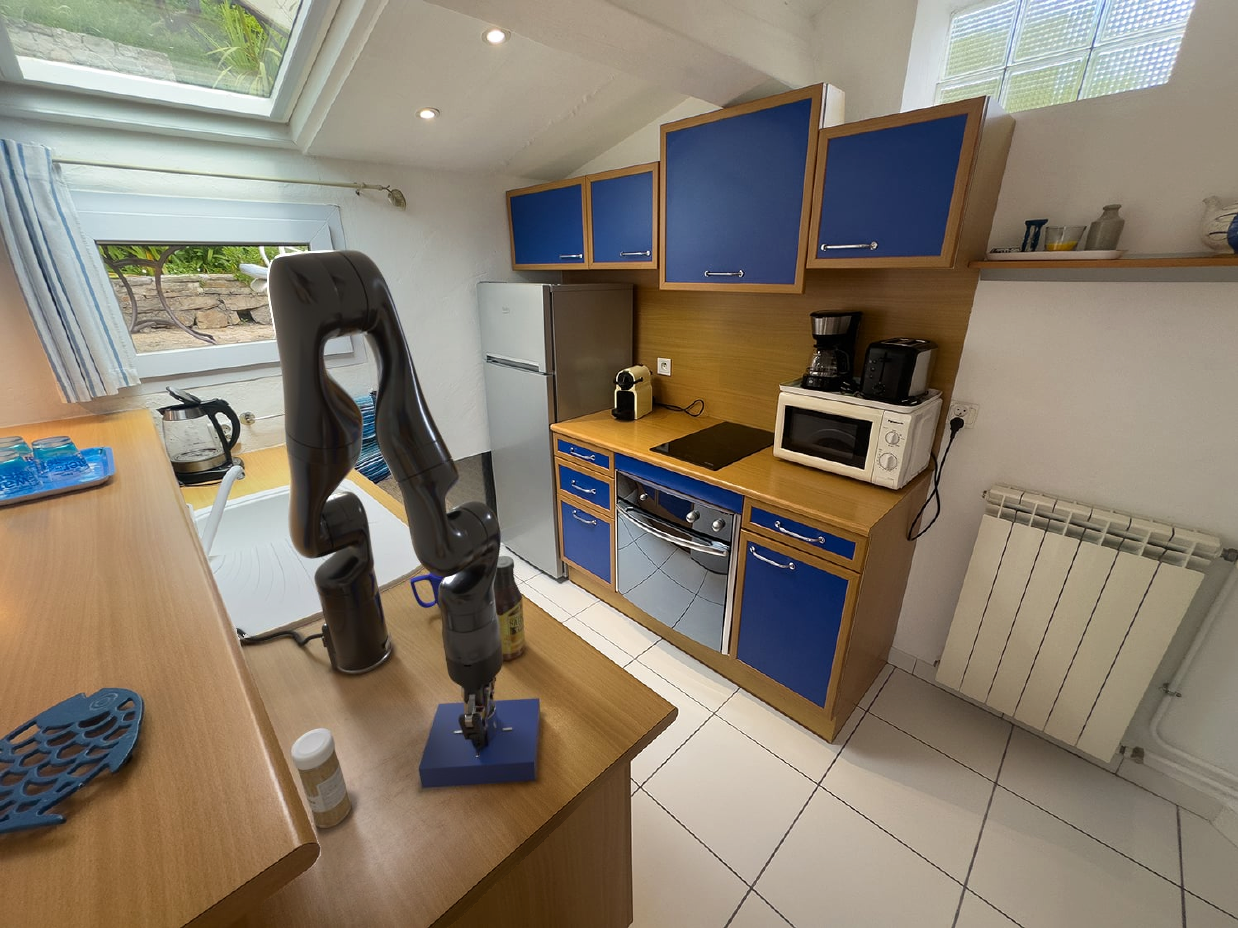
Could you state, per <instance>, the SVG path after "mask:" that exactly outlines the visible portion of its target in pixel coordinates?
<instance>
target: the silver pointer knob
mask: <svg viewBox="0 0 1238 928" xmlns="http://www.w3.org/2000/svg"><path fill="white" fill-rule="evenodd" d="M493 700H494V699H493ZM493 700H492V699H491V698H490V711H489V714H488V716H487V724H488V735H489V741H490V740H492V739H493V738H494V737H495V735H496V734H497V732H498V720H497V712H496V704H495V702H494V701H495V700H494V701H493ZM484 706H485V704H484V705H483V706H478V707H484ZM481 720H482V718H481ZM470 740H471V741H472V739H470Z"/></svg>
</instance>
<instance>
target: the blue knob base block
mask: <svg viewBox="0 0 1238 928" xmlns="http://www.w3.org/2000/svg"><path fill="white" fill-rule="evenodd" d="M494 702H495V704H496V712H497V720H498V732H497V734H496V735H495V737H494V738H493V739H492V740H490V741H489V745H488V746H487V747H482V748H475V747H474V746H473V742H472V741H471V740H470V739H469V740H465V738H464V735H463V732H462V730H461V727H460V724H459V716H460V714H464V703H463V702H443V703H438V705H437V707H436V711H435V714H434V717H433V721H432V723H431V727H430V730H429V734H428V736H427V740H426V743H425V746H424V749H423V753H422V756H421V759H420V763H419V766H418V774H419V780H420V785H421V789H431V788H432V789H433V788H445V787H462V786H475V785H476V786H477V785H491V784H505V783H521V782H535V781H536V778H537V766H538V752H539V741H540V739H539V738H540V728H541V727H540V726H541V703H540V698H539V697H537V698H535V697H534V698H522V699H521V698H519V699H518V698H517V699H501V700H500V699H499V700H494Z"/></svg>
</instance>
